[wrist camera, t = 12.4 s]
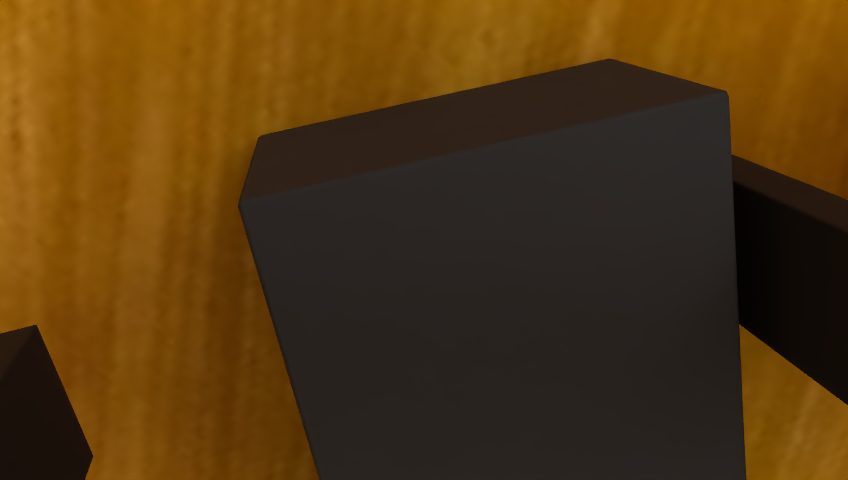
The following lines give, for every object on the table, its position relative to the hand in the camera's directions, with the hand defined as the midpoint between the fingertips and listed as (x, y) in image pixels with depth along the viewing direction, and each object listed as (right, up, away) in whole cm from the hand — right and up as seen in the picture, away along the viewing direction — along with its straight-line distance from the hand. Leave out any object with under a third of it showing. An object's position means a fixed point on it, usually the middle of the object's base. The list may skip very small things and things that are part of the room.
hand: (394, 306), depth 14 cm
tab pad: (+2, -1, +2) cm, 3 cm away
